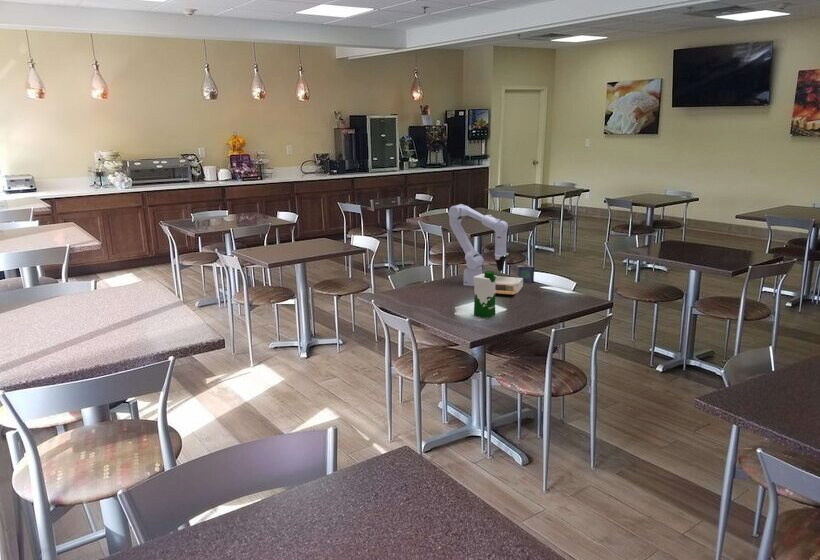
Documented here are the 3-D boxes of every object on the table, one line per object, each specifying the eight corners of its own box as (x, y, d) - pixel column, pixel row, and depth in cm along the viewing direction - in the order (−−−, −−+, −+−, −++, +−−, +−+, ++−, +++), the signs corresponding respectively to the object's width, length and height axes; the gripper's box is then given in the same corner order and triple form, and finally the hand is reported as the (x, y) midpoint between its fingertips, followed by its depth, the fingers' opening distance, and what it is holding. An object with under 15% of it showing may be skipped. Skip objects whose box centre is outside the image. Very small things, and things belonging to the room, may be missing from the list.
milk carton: (487, 319, 263) (488, 275, 258) (470, 315, 269) (470, 272, 264) (498, 314, 270) (499, 271, 265) (481, 310, 275) (481, 268, 270)
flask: (516, 282, 323) (516, 263, 321) (516, 281, 326) (517, 261, 324) (533, 283, 321) (534, 263, 319) (533, 281, 324) (534, 262, 321)
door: (478, 290, 307) (474, 291, 299) (479, 288, 306) (475, 289, 299) (515, 293, 300) (512, 294, 292) (516, 291, 300) (512, 292, 292)
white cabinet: (478, 291, 308) (478, 281, 307) (485, 284, 321) (485, 275, 319) (517, 294, 301) (517, 284, 300) (522, 287, 313) (523, 278, 312)
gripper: (505, 247, 299) (504, 274, 303) (511, 242, 312) (510, 268, 316) (491, 247, 302) (491, 273, 305) (498, 241, 315) (497, 267, 318)
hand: (500, 270), depth 311 cm, fingers closed
